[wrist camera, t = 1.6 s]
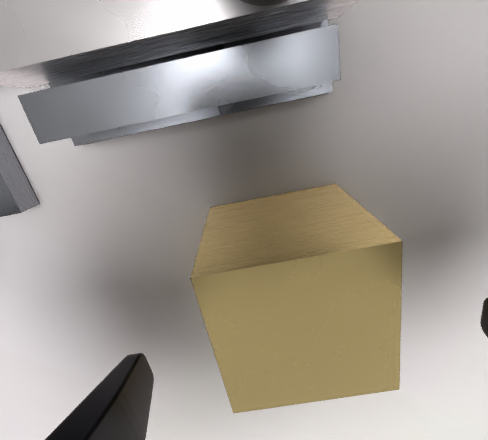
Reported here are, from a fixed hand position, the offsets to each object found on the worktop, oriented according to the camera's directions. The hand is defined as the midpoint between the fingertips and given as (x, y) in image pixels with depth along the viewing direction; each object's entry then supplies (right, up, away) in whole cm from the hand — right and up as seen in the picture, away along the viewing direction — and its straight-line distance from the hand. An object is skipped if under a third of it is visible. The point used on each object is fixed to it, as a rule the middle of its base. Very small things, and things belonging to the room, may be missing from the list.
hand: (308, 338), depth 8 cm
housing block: (0, +2, +5) cm, 5 cm away
